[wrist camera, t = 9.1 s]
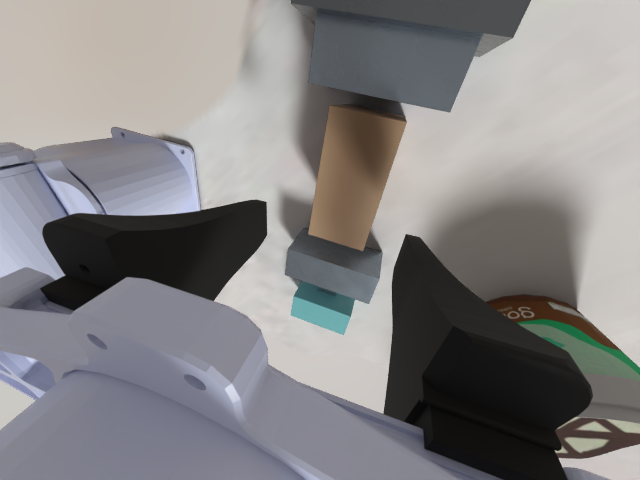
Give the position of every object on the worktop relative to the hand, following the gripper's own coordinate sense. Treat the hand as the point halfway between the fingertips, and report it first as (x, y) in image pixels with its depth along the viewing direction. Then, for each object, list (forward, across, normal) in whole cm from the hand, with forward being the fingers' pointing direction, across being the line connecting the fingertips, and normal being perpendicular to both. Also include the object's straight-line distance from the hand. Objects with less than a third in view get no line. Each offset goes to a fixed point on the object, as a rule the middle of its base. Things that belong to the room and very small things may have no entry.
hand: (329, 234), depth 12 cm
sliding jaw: (+9, +1, +10) cm, 14 cm away
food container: (+10, -15, +10) cm, 21 cm away
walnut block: (+10, 0, -1) cm, 10 cm away
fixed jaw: (+9, -1, -9) cm, 13 cm away
